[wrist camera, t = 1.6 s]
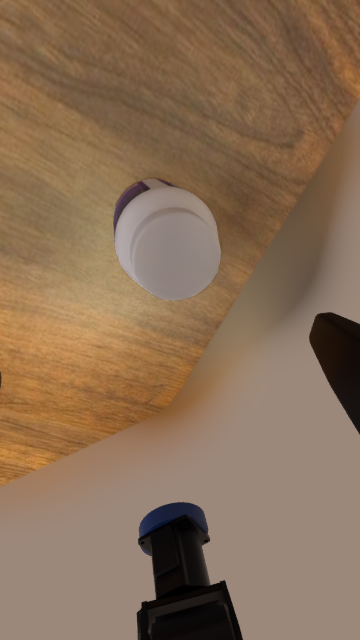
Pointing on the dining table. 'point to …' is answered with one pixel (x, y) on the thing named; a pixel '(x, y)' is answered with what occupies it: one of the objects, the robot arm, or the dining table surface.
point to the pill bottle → (166, 239)
